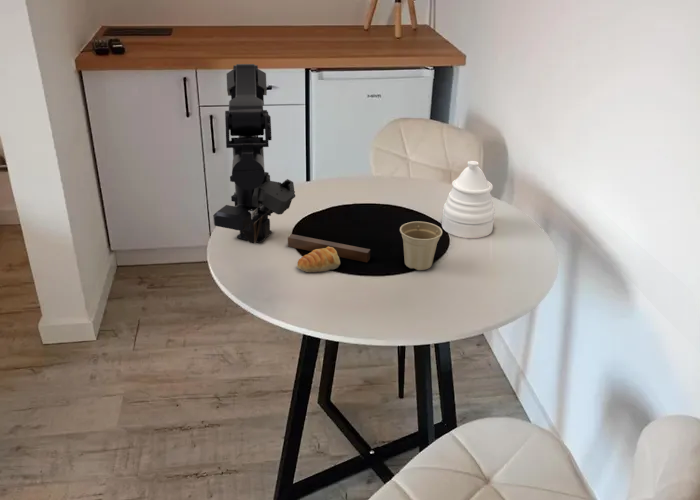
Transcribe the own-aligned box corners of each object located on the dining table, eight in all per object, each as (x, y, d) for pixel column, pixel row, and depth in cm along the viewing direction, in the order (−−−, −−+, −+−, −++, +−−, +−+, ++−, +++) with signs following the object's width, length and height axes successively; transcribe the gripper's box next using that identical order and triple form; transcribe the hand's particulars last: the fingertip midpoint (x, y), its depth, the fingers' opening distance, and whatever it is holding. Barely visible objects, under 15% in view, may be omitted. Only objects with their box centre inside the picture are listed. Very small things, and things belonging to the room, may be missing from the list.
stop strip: (287, 246, 161) (287, 237, 160) (291, 243, 163) (291, 233, 162) (367, 262, 155) (367, 253, 154) (370, 258, 157) (370, 249, 156)
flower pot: (416, 250, 161) (418, 217, 157) (447, 264, 155) (450, 230, 151) (389, 263, 155) (391, 229, 151) (421, 278, 149) (423, 243, 145)
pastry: (305, 277, 148) (305, 262, 147) (291, 265, 153) (291, 250, 152) (342, 267, 153) (342, 252, 151) (327, 255, 158) (328, 240, 156)
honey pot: (488, 241, 166) (497, 172, 158) (436, 233, 169) (443, 165, 161) (495, 220, 177) (504, 154, 168) (447, 213, 180) (453, 148, 172)
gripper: (264, 193, 119) (267, 271, 126) (307, 160, 135) (308, 230, 142) (209, 183, 123) (215, 260, 130) (257, 152, 138) (260, 221, 145)
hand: (252, 242), depth 137 cm, fingers closed
